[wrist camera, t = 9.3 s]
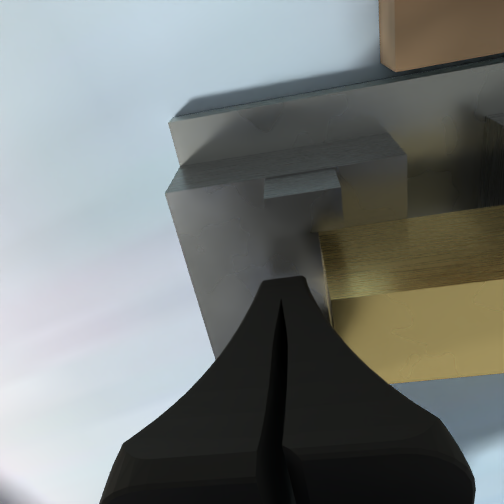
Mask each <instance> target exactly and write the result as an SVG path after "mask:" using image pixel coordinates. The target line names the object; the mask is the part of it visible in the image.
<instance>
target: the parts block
mask: <svg viewBox="0 0 504 504" xmlns="http://www.w3.org/2000/svg"><path fill="white" fill-rule="evenodd" d="M379 31H380V62H381V64H383V65H385V66H386V67H388V68H390V69H391V70H393V71H394V72H400V71H405V70H411V69H416V68H422V67H427V66H433V65H438V64H444V63H449V62H455V61H460V60H466V59H471V58H477V57H482V56H488V55H493V54H499V53H504V0H379Z"/></svg>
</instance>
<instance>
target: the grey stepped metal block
mask: <svg viewBox="0 0 504 504" xmlns="http://www.w3.org/2000/svg"><path fill="white" fill-rule="evenodd" d="M168 124H169V128H170V131H171V135H172V139H173V142H174V146H175V149H176V153H177V157H178V160H179V164H180V168H179V169H178V171H177V173H176V175H175V176H174V178H173V180H172V182H171V184H170V185H169V187H168V189H167V191H166V192H165V196H166V199H167V202H168V205H169V209H170V212H171V215H172V218H173V222H174V225H175V228H176V232H177V235H178V238H179V241H180V245H181V248H182V251H183V255H184V258H185V261H186V264H187V268H188V271H189V274H190V277H191V281H192V284H193V287H194V291H195V294H196V297H197V300H198V304H199V307H200V310H201V314H202V317H203V320H204V323H205V327H206V330H207V333H208V336H209V340H210V343H211V346H212V350H213V353H214V356H215V359H217V358H218V357H219V355H220V354H221V353H222V351H223V350H224V348H225V347H226V346H227V344H228V343H229V341H230V339H231V338H232V336H233V335H234V333H235V332H236V330H237V329H238V327H239V325H240V324H241V322H242V320H243V318H244V317H245V315H246V313H247V311H248V309H249V308H250V306H251V304H252V302H253V300H254V297H255V295H256V293H257V291H258V288H259V286H260V284H261V283H262V281H263V280H269V279H277V278H285V277H293V276H300V275H302V276H304V277H305V278H306V280H307V284H308V287H309V289H310V291H311V294H312V296H313V297H314V299H315V301H316V303H317V305H318V306H319V308H320V309H321V311H322V313H323V314H324V316H325V317H326V319H327V320H328V321H329V323H330V317H329V311H328V305H327V297H326V289H325V281H324V273H323V265H322V257H321V250H320V242H319V234H318V232H324V231H331V230H338V229H344V228H345V227H352V226H359V225H366V224H373V223H380V222H387V221H394V220H401V219H408V218H415V217H421V216H428V215H435V214H442V213H449V212H456V211H463V210H470V209H477V208H484V207H491V206H498V205H504V57H502V58H497V59H491V60H486V61H480V62H475V63H469V64H463V65H458V66H452V67H447V68H441V69H436V70H430V71H425V72H419V73H414V74H408V75H403V76H397V77H392V78H386V79H381V80H375V81H370V82H364V83H359V84H353V85H348V86H342V87H337V88H331V89H326V90H320V91H315V92H309V93H304V94H298V95H293V96H287V97H282V98H276V99H271V100H265V101H260V102H254V103H248V104H243V105H237V106H232V107H226V108H221V109H215V110H210V111H204V112H199V113H193V114H188V115H182V116H177V117H173V118H172V119H171V120H170V121H169V123H168ZM330 324H331V323H330Z"/></svg>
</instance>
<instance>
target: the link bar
mask: <svg viewBox="0 0 504 504" xmlns="http://www.w3.org/2000/svg"><path fill="white" fill-rule="evenodd" d="M318 234H319V242H320V250H321V257H322V265H323V273H324V281H325V289H326V297H327V305H328V311H329V317H330V323H331V326H332V327H333V328H334V330H335V331H336V332H337V333H338V335H339V336H340V337H341V338H342V340H343V341H344V342H345V343H346V344H347V345H348V346H349V348H350V349H351V350H352V351H353V352H354V353H355V354H356V355H357V356H358V357H359V358H360V359H361V360H362V361H363V362H364V363H365V364H366V365H367V366H368V367H369V368H371V369H372V370H373V371H374V372H375V373H376V374H378V375H379V376H380V377H381V378H382V379H384V380H385V381H386V382H387V383H388V384H394V383H404V382H415V381H426V380H436V379H447V378H458V377H468V376H479V375H489V374H500V373H504V205H498V206H491V207H484V208H477V209H470V210H463V211H456V212H449V213H442V214H435V215H428V216H421V217H415V218H408V219H401V220H394V221H387V222H380V223H373V224H366V225H359V226H352V227H345V228H344V229H338V230H331V231H324V232H318Z"/></svg>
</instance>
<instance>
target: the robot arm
mask: <svg viewBox="0 0 504 504" xmlns="http://www.w3.org/2000/svg"><path fill="white" fill-rule="evenodd" d="M475 491H476V488H475V479H474V476H473V474H472V471H471V469H470V466H469V465H468V463H467V461H466V459H465V457H464V455H463V453H462V452H461V450H460V448H459V446H458V445H457V443H456V442H455V440H454V439H453V437H452V435H451V434H450V433H449V431H448V430H447V428H446V427H445V425H444V424H443V423H442V421H441V420H440V419H439V418H438V417H436V416H434V415H433V414H431V413H430V412H428V411H426V410H425V409H423V408H422V407H420V406H418V405H417V404H415V403H414V402H412V401H411V400H409V399H408V398H407V397H405V396H404V395H403V394H401V393H400V392H399V391H397V390H396V389H394V388H393V387H392V386H391V385H389V384H388V383H387V382H386V381H385V380H384V379H382V378H381V377H380V376H379V375H378V374H376V373H375V372H374V371H373V370H372V369H371V368H369V367H368V366H367V365H366V364H365V363H364V362H363V361H362V360H361V359H360V358H359V357H358V356H357V355H356V354H355V353H354V352H353V351H352V350H351V349H350V348H349V346H348V345H347V344H346V343H345V342H344V341H343V340H342V338H341V337H340V336H339V335H338V333H337V332H336V331H335V330H334V328H333V327H332V326H331V324H330V323H329V321H328V320H327V319H326V317H325V316H324V314H323V313H322V311H321V309H320V308H319V306H318V305H317V303H316V301H315V299H314V297H313V296H312V294H311V291H310V289H309V287H308V284H307V280H306V278H305V277H304V276H302V275H300V276H293V277H285V278H277V279H269V280H263V281H262V283H261V284H260V286H259V288H258V291H257V293H256V295H255V297H254V300H253V302H252V304H251V306H250V308H249V309H248V311H247V313H246V315H245V317H244V318H243V320H242V322H241V324H240V325H239V327H238V329H237V330H236V332H235V333H234V335H233V336H232V338H231V339H230V341H229V343H228V344H227V346H226V347H225V348H224V350H223V351H222V353H221V354H220V355H219V357H218V358H217V359H216V360H215V362H214V363H213V364H212V365H211V367H210V368H209V369H208V370H207V371H206V372H205V374H204V375H203V376H202V377H201V378H200V379H199V380H198V381H197V382H196V383H195V384H194V386H193V387H192V388H191V389H190V390H189V391H188V392H187V393H186V394H185V395H184V396H182V397H181V398H180V399H179V400H178V401H177V402H176V403H175V404H174V405H173V406H171V407H170V408H169V409H168V410H167V411H165V412H164V413H163V414H162V415H161V416H159V417H158V418H157V419H156V420H154V421H153V422H152V423H150V424H149V425H148V426H146V427H145V428H144V429H142V430H141V431H140V432H138V433H137V434H136V435H134V436H133V437H132V438H130V439H129V440H127V441H126V442H124V443H123V444H122V447H121V449H120V451H119V453H118V456H117V458H116V460H115V462H114V464H113V466H112V469H111V471H110V474H109V477H108V480H107V483H106V486H105V488H104V491H103V494H102V497H101V500H100V503H99V504H474V499H475Z"/></svg>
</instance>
